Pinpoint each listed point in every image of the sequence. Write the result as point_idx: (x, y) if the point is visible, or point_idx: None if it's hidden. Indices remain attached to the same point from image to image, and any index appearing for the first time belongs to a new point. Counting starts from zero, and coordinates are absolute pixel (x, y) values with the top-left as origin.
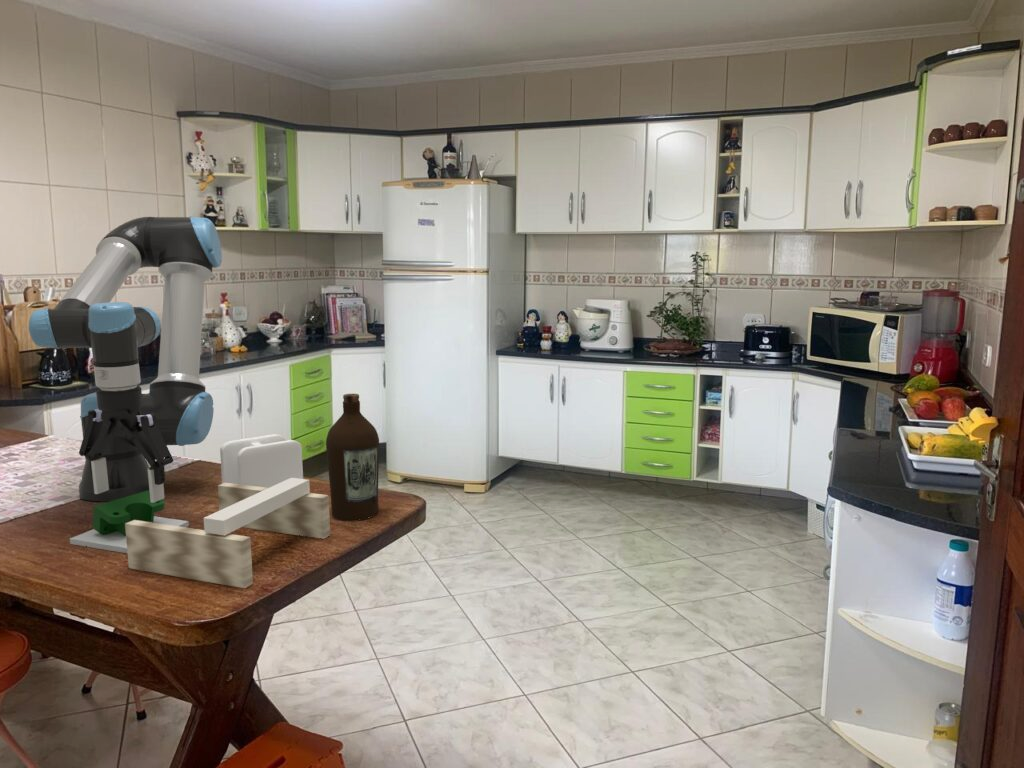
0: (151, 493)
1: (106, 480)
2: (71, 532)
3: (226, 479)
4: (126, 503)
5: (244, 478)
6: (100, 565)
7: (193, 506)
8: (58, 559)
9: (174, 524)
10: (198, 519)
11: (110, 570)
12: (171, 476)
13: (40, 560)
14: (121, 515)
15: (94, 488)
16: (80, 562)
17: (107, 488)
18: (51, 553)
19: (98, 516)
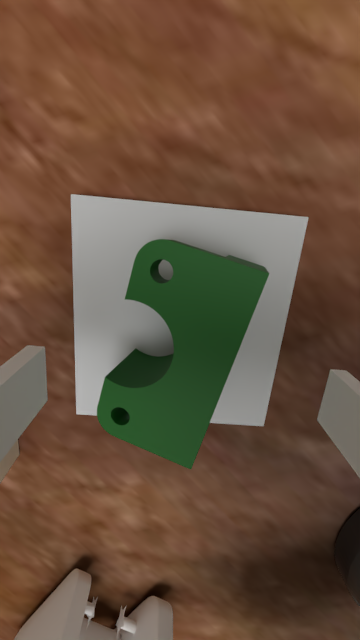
0: (13, 362)
1: (340, 443)
2: (356, 295)
3: (154, 622)
4: (185, 355)
5: (59, 625)
6: (85, 85)
7: (170, 507)
8: (250, 93)
9: (94, 386)
10: (94, 446)
11: (21, 54)
12: (347, 626)
13: (301, 68)
14: (138, 271)
15: (357, 382)
16: (164, 90)
17: (322, 419)
18: (306, 134)
19: (236, 260)
